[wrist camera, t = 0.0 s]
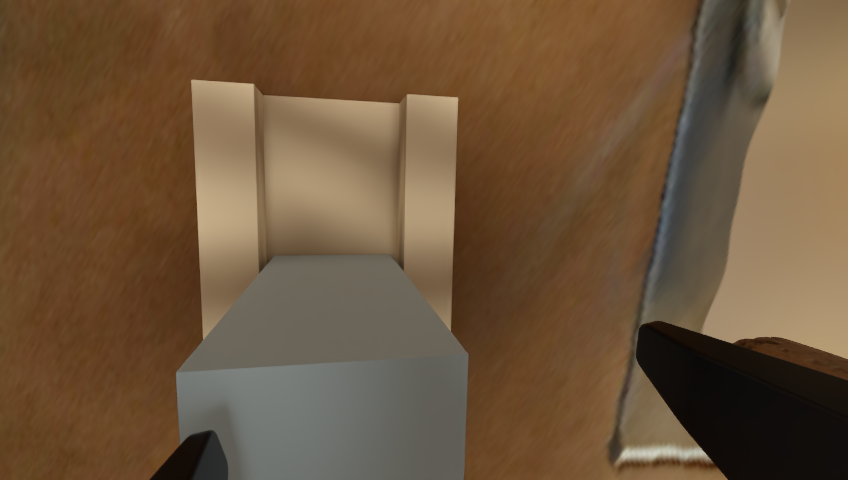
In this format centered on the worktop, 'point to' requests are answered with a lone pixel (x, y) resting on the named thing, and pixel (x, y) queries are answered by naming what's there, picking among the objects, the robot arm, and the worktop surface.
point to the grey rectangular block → (330, 376)
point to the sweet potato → (798, 354)
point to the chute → (321, 186)
